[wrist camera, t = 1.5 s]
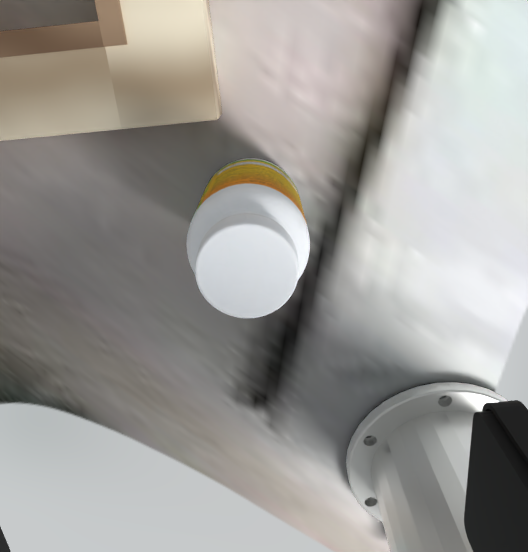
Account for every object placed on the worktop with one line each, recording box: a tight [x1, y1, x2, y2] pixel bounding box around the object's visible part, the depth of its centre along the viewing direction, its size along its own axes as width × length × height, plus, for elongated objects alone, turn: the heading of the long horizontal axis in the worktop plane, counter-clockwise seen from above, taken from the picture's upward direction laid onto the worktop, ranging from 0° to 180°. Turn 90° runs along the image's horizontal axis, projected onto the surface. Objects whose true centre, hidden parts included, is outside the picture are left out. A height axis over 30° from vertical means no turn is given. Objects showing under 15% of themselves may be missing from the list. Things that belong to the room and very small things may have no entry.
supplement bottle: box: [186, 158, 310, 318], centre depth 23 cm, size 5×5×10 cm
